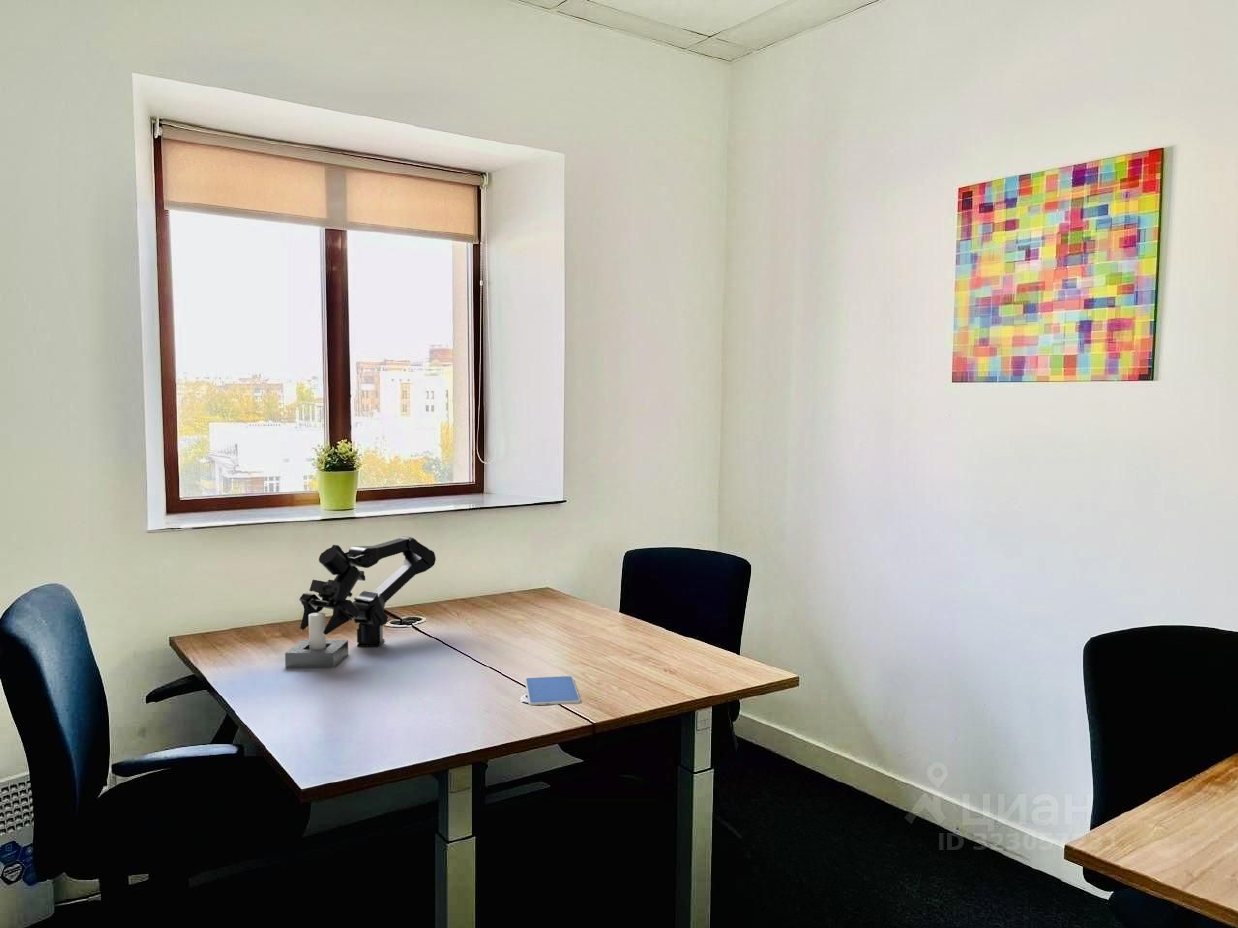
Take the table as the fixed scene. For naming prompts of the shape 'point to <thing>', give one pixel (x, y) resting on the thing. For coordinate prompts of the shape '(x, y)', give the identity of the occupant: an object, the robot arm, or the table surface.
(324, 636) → the peg
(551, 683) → the tablet computer
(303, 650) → the collar
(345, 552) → the robot arm
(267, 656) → the table surface
